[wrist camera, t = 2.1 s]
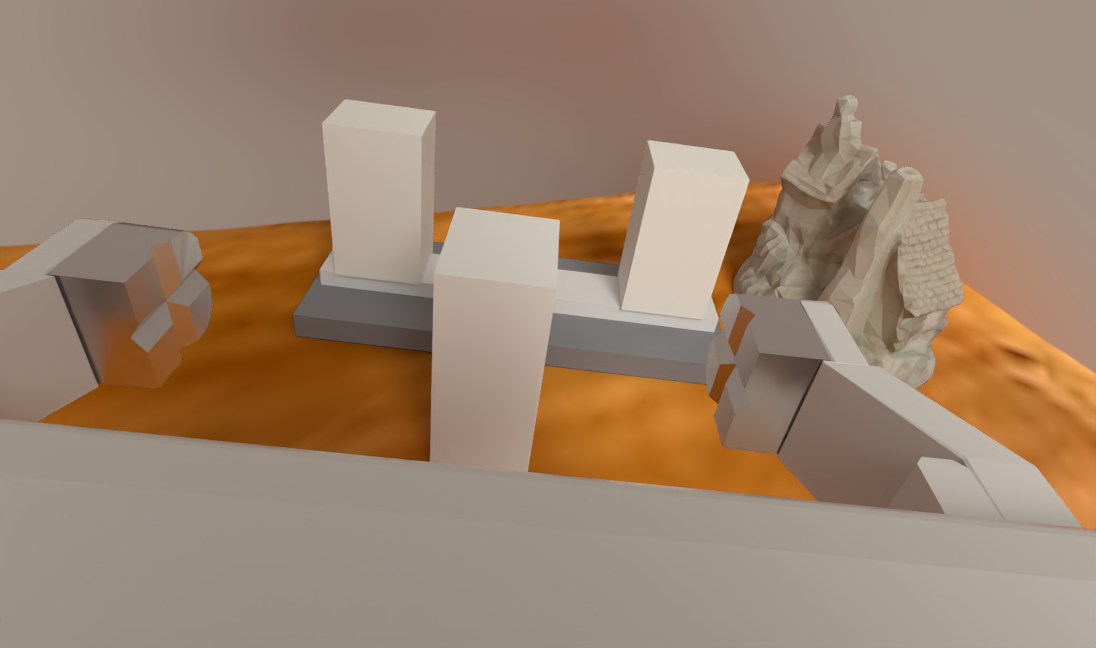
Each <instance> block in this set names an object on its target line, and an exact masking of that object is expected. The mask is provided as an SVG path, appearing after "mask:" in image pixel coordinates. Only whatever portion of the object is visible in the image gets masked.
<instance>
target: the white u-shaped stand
mask: <svg viewBox="0 0 1096 648" xmlns="http://www.w3.org/2000/svg"><path fill="white" fill-rule="evenodd" d="M435 115H436V112H435V111H428V110H421V109H414V108H406V107H399V106H391V105H384V104H377V103H369V102H361V101H354V100H347V99H345V100H344V101H343V102H342V103H341V104H340V105H339V106H338V107H337V108H336V109H335V111H333V112H332V114H331V115H330V116H329V117H328V118H327V119H326V120H325V121H324V122H323V123H322V128H323V140H324V151H325V162H326V173H327V186H328V197H329V208H330V220H331V231H332V243H333V250H332V251H331V253H330V254H329V256H328V257H327V259H326V261H325V262H324V264H323V265H322V267H321V269H320V270H319V271H320V272H319V274H318V275H317V277H316V279H315V280H314V282H313V283H312V285H311V287H310V288H309V290H308V291H307V293H306V295H305V296H304V298H303V299H302V301H301V303H300V304H299V306H298V307H297V309H296V311H295V312H294V314H293V319H294V326H295V333H296V336H300V337H309V338H317V339H326V340H334V341H343V342H351V343H360V344H368V345H377V346H385V347H393V348H402V349H410V350H419V351H427V352H432V337H433V289H434V271H435V268H436V266H437V263H438V260H439V257H440V254H441V251H442V248H443V245H444V243H440V242H433V220H434V169H435V168H434V166H435V117H436V116H435ZM748 183H749V179H748V176H747V175H746V173H745V171H744V169H743V167H742V166H741V164H740V162H739V160H738V158H737V157H736V155H735V153H734V152H731V151H724V150H717V149H709V148H702V147H695V146H687V145H680V144H672V143H665V142H657V141H650V140H648V141H647V144H646V149H645V154H644V158H643V163H642V167H641V172H640V177H639V180H638V185H637V190H636V194H635V198H634V203H633V207H632V212H631V216H630V221H629V225H628V230H627V234H626V239H625V243H624V248H623V252H622V257H621V261H620V265H615V264H607V263H599V262H591V261H583V260H575V259H567V258H559V257H558V270H557V290H556V296H555V303H554V309H553V315H552V322H551V328H550V334H549V340H548V347H547V353H546V359H545V365H546V366H555V367H563V368H572V369H580V370H588V371H597V372H605V373H614V374H622V375H631V376H639V377H648V378H656V379H665V380H673V381H682V382H690V383H699V384H706V374H705V372H706V363H707V355H708V352H709V349H710V345H711V342H712V339H713V338H714V337H716V336H717V335H718V334H719V333H721V329H720V325H719V322H718V320H719V319H718V316H717V313H716V309H715V306H714V303H713V300H712V297H711V294H712V291H713V288H714V285H715V282H716V279H717V276H718V273H719V270H720V267H721V264H722V261H723V258H724V255H725V252H726V249H727V246H728V243H729V240H730V237H731V234H732V231H733V228H734V225H735V222H736V219H737V216H738V213H739V210H740V207H741V204H742V201H743V198H744V195H745V192H746V189H747V186H748Z"/></svg>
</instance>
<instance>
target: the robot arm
mask: <svg viewBox="0 0 1096 648" xmlns="http://www.w3.org/2000/svg"><path fill="white" fill-rule="evenodd" d="M202 259H203V256H202V253H201V249H200V246H199V242H198V239H197V238H196V237H195V236H194V235H193V234H192V233H191V232H189V231H184V230H177V229H169V228H162V227H154V226H147V225H138V224H131V223H120V222H118V221H110V220H99V219H77V220H75V221H74V222H72V223H71V224H70V225H68V226H67V227H65V228H64V229H62V230H61V231H59V232H58V233H56V234H55V235H54V236H52V237H51V238H49V239H48V240H46V241H45V242H43V243H42V244H40V245H39V246H38V247H36V248H35V249H33V250H32V251H30V252H29V253H27V254H26V255H24V256H23V257H22V258H20V259H19V260H17V261H16V262H14V263H13V264H11V265H10V266H9V267H7V268H6V269H4V270H0V648H1096V529H1087V528H1083V527H1082V525H1081V524H1080V523H1079V522H1078V520H1077V519H1076V518H1075V516H1074V515H1073V514H1072V513H1071V511H1070V510H1069V509H1068V507H1067V506H1066V505H1065V504H1064V502H1063V501H1062V500H1061V498H1060V497H1059V496H1058V494H1057V493H1056V492H1055V491H1054V489H1053V488H1052V487H1051V485H1050V484H1049V483H1048V482H1047V480H1046V479H1045V478H1044V476H1043V475H1042V474H1041V473H1040V471H1039V470H1038V469H1037V467H1035V466H1034V465H1032V464H1031V463H1029V462H1028V461H1026V460H1024V459H1023V458H1021V457H1020V456H1018V455H1017V454H1015V453H1014V452H1012V451H1010V450H1009V449H1007V448H1006V447H1004V446H1003V445H1001V444H999V443H998V442H996V441H995V440H993V439H992V438H990V437H989V436H987V435H985V434H984V433H982V432H981V431H979V430H978V429H976V428H974V427H973V426H971V425H970V424H968V423H967V422H965V421H963V420H962V419H960V418H959V417H957V416H956V415H954V414H953V413H951V412H949V411H948V410H946V409H945V408H943V407H942V406H940V405H938V404H937V403H935V402H934V401H932V400H931V399H929V398H928V397H926V396H924V395H923V394H921V393H920V392H918V391H917V390H915V389H913V388H912V387H910V386H909V385H907V384H906V383H904V382H903V381H901V380H899V379H898V378H896V377H895V376H893V375H892V374H890V373H888V372H887V371H885V370H884V369H882V368H881V367H877V366H869V364H868V363H867V361H866V359H865V358H864V356H863V355H862V353H861V351H860V350H859V348H858V346H857V345H856V343H855V341H854V340H853V338H852V336H851V335H850V333H849V331H848V330H847V328H846V327H845V325H844V323H843V322H842V320H841V318H840V317H839V315H838V313H837V312H836V310H835V308H834V307H833V305H831V304H829V303H828V302H826V301H812V300H799V299H788V298H777V297H766V296H754V295H743V294H730V295H729V296H728V298H727V300H726V301H725V303H724V306H723V309H722V312H721V315H720V318H721V321H722V324H723V327H724V330H723V331H722V332H721V333H719V334H718V335H717V336H716V337H714V338H713V339H712V342H711V345H710V349H709V352H708V355H707V363H706V372H705V374H706V386H707V390H708V394H709V396H710V397H711V398H712V399H713V400H714V401H715V402H716V403H717V404H718V406H717V409H716V412H715V415H714V417H715V421H716V425H717V429H718V432H719V436H720V440H721V443H722V447H723V448H731V449H739V450H746V451H754V452H762V453H769V454H777V455H778V456H777V457H778V458H779V459H780V460H781V461H782V463H783V464H784V465H785V466H786V467H787V468H788V469H789V470H790V471H791V472H792V473H793V474H794V476H795V477H796V478H797V479H798V480H799V481H800V482H801V483H802V484H803V485H804V486H805V487H806V488H807V490H808V491H809V492H810V493H811V494H812V495H813V496H814V497H815V498H816V499H817V500H818V501H810V500H801V499H791V498H781V497H771V496H761V495H751V494H741V493H731V492H721V491H712V490H702V489H692V488H682V487H672V486H662V485H652V484H642V483H632V482H622V481H612V480H602V479H593V478H583V477H573V476H563V475H553V474H543V473H533V472H523V471H513V470H503V469H493V468H484V467H474V466H464V465H454V464H444V463H434V462H424V461H414V460H405V459H395V458H385V457H375V456H365V455H355V454H345V453H336V452H326V451H316V450H306V449H296V448H286V447H276V446H266V445H257V444H247V443H237V442H227V441H217V440H207V439H197V438H188V437H178V436H168V435H158V434H148V433H138V432H128V431H119V430H109V429H99V428H89V427H79V426H69V425H59V424H49V423H40V422H37V421H39V420H41V419H42V418H44V417H46V416H48V415H50V414H51V413H53V412H55V411H57V410H58V409H60V408H62V407H64V406H66V405H67V404H69V403H71V402H73V401H74V400H76V399H78V398H80V397H81V396H83V395H85V394H87V393H89V392H90V391H92V390H94V389H96V388H97V387H98V386H99V385H98V384H104V385H117V386H130V387H142V388H155V389H160V387H161V386H162V385H163V384H164V382H165V381H166V380H167V379H168V377H169V376H170V375H171V374H172V373H173V371H174V370H175V369H176V368H177V366H178V365H179V364H180V363H181V361H182V360H183V358H182V355H181V351H180V349H182V348H184V347H186V346H188V345H190V344H193V343H195V342H197V341H198V340H199V339H200V337H201V336H202V335H203V333H204V332H205V331H206V329H207V327H208V324H209V320H210V317H211V314H212V295H211V290H210V285H209V283H208V282H207V281H206V280H205V279H204V278H203V277H202V275H201V274H200V273H199V272H198V271H197V270H196V268H197V267H198V265H199V264H200V262H201V260H202Z"/></svg>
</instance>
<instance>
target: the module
mask: <svg viewBox="0 0 1096 648" xmlns="http://www.w3.org/2000/svg"><path fill="white" fill-rule="evenodd" d="M559 223H560V220H554V219H546V218H538V217H531V216H523V215H515V214H507V213H500V212H492V211H484V210H476V209H469V208H461V207H457V208H456V210H455V213H454V216H453V219H452V222H451V225H450V228H449V231H448V234H447V237H446V239H445V242H444V245H443V248H442V251H441V254H440V257H439V260H438V263H437V266H436V268H435V271H434V289H433V337H432V385H431V434H430V462H434V463H444V464H454V465H464V466H474V467H484V468H493V469H503V470H513V471H523V472H528V467H529V461H530V454H531V448H532V442H533V435H534V429H535V423H536V416H537V410H538V404H539V397H540V391H541V385H542V378H543V372H544V366H545V359H546V353H547V347H548V340H549V334H550V328H551V322H552V315H553V309H554V303H555V296H556V290H557V270H558V246H559Z"/></svg>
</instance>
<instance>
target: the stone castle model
mask: <svg viewBox="0 0 1096 648" xmlns="http://www.w3.org/2000/svg"><path fill="white" fill-rule="evenodd" d="M857 106H858V100H857V99H856V98H855V97H854V96H852V95H849V96H843V97H841V98H839V99H837V103H836V107H835V111H834V114H833V116H832V118H831V119H830V121H829V122H828V124H827V126H826V127H823V126H822V125H821V124H819V125H818V126H817V127H816V130H815V132H814V134H813V136H812V138H811V139H810V141H809V142H808V144H807V145H806V146H805V148H804V149H803V150H802V152H801V153H800V154H799V155H798V156H797V157H796V158H794V160H792V161H791V162H790V163H789V165H788V166H787V167H786V169H785V171H784V174H783V175H782V176H781V182H782V190H781V192H780V194H779V198H778V201H777V205H776V208H775V211H774V214H773V215H772V216H771V218H770V219H768V220H767V221H765V222H763V223H762V229H761V232H760V235H759V236H758V238H757V242H756V246H755V247H754V249H753V253H752V255H751V256H750V257H749V258H748V259H747V260H746V261H745V262H743V264H742V265H741V267H740V268H739V270H738V273H737V275H736V276H735V277H734V280H733V291H734V294H743V295H754V296H766V297H777V298H788V299H799V300H812V301H826V302H828V303H829V304H831V305H833V307H834V308H835V310H836V312H837V313H838V315H839V317H840V318H841V320H842V322H843V323H844V325H845V327H846V328H847V330H848V331H849V333H850V335H851V336H852V338H853V340H854V341H855V343H856V345H857V346H858V348H859V350H860V351H861V353H862V355H863V356H864V358H865V359H866V361H867V363H868V364H869V366H877V367H881V368H882V369H884V370H885V371H887V372H888V373H890V374H892V375H893V376H895V377H896V378H898V379H899V380H901V381H903V382H904V383H906V384H907V385H909V386H910V387H912V388H913V389H915V388H917V387H919V386H921V385H923V384H924V382H926V381H927V380H928V379H929V378H931V377H932V374H933V371H934V368H935V362H936V359H935V357H934V355H933V352H932V349H931V342H932V340H933V339H934V338H935V337H936V336H937V335H938V334H939V333H940V332H941V331H942V330H943V329H944V328H945V327H946V326H947V325H948V321H947V320H946V315H947V313H948V311H949V310H950V308H951V307H954V306H957V305H960V304H961V303H962V300H963V296H964V292H963V289H962V286H963V285H962V283H961V281H960V279H959V275H958V272H957V270H956V267H955V263H954V255H953V251H952V248H951V246H950V244H949V235H950V231H949V229H948V217H949V216H948V214H947V213H946V211H945V210H946V205H947V202H946V201H945V199H944V198H940V199H936V200H932V201H927V200H926V198H925V196H924V194H923V193H922V192H920V191H921V188H922V184H923V178H922V175H921V174H920V173H919V172H918V171H916V170H915V169H913V168H911V167H905V166H904V167H901V168H899V169H896V168H897V165H896V164H895V163H892V162H890V161H883V162H881V163H880V156H879V155H878V149H877V148H873V147H870V146H866V145H863V144H861V140H860V132H861V126H862V122H861V121H859V120H857V119H855V118H854V116H853V114H854V112H855V110H856V108H857Z"/></svg>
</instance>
